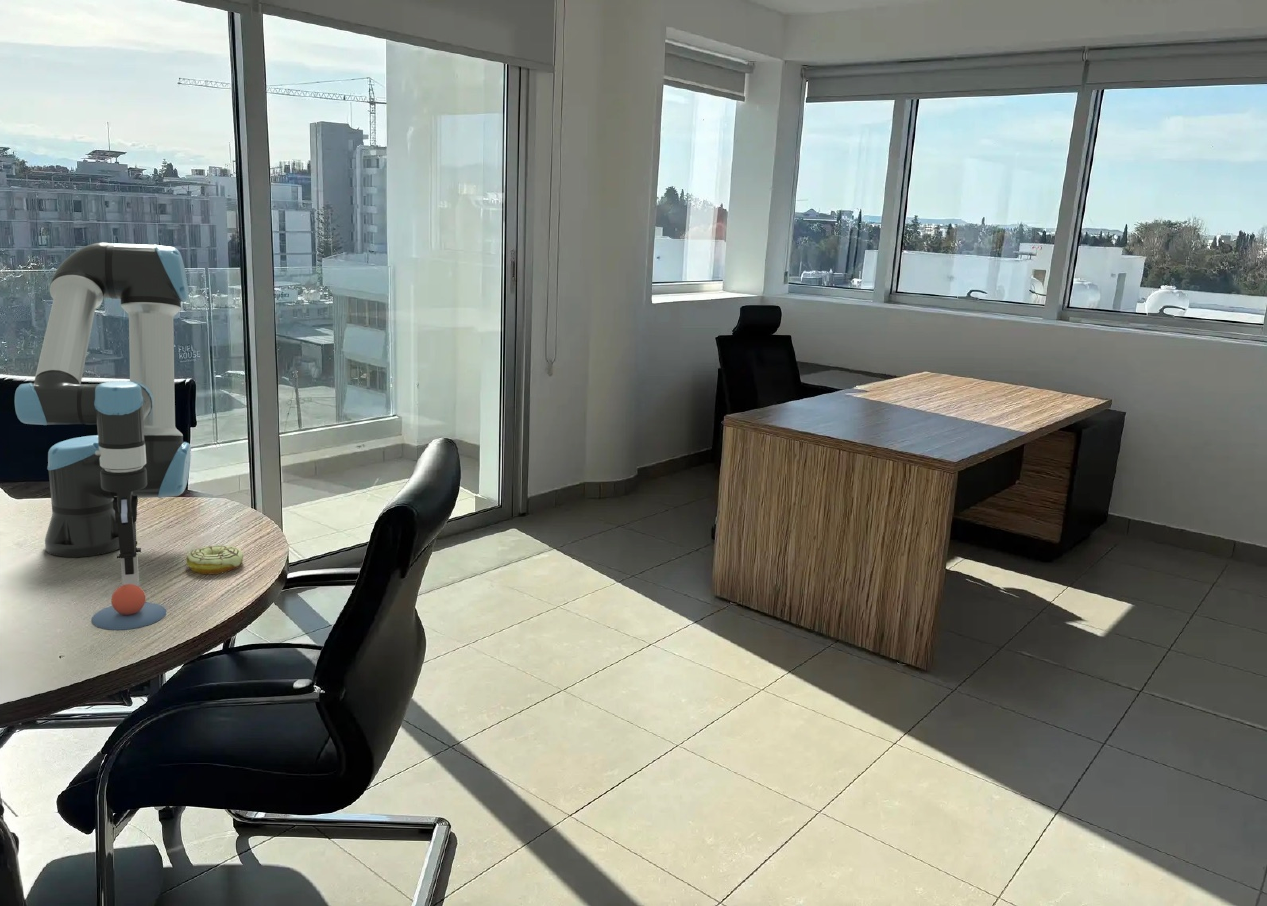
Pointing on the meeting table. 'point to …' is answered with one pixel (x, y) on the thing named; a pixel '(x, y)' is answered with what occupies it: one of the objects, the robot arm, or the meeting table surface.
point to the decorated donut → (214, 559)
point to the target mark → (128, 617)
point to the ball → (128, 599)
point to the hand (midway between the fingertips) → (131, 587)
